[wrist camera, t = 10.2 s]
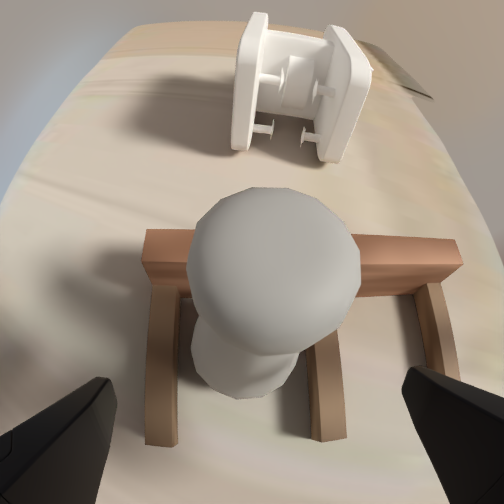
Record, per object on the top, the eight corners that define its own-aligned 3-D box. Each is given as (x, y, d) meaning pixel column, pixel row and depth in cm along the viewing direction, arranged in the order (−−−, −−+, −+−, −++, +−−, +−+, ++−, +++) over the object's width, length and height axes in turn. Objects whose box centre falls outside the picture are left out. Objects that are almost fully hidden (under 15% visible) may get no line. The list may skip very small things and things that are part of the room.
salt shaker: (196, 401, 16) (135, 383, 4) (193, 313, 18) (158, 152, 7) (293, 395, 16) (428, 352, 5) (283, 309, 19) (362, 157, 8)
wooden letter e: (446, 406, 16) (492, 396, 12) (153, 441, 14) (128, 451, 10) (420, 271, 22) (454, 239, 17) (161, 270, 20) (146, 229, 15)
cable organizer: (244, 88, 33) (253, 7, 23) (325, 101, 34) (347, 24, 24) (227, 162, 26) (235, 42, 16) (340, 179, 26) (385, 72, 16)
